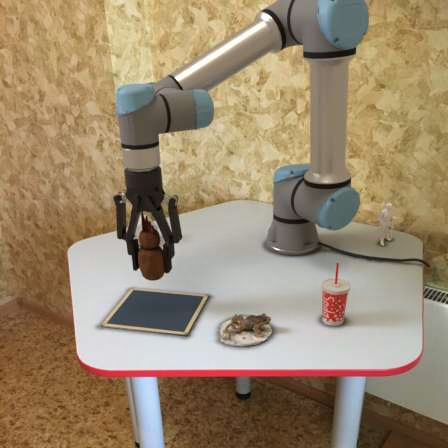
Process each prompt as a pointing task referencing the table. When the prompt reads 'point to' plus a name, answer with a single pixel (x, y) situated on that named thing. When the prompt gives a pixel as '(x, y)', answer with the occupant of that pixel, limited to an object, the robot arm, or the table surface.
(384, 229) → the action figure
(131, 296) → the framed chalkboard
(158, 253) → the wooden figurine
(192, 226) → the table surface
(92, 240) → the table surface
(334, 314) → the beverage cup
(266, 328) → the frog figurine
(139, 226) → the die
